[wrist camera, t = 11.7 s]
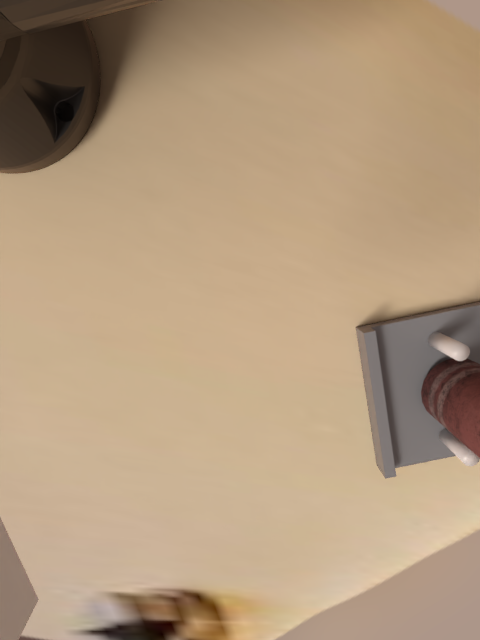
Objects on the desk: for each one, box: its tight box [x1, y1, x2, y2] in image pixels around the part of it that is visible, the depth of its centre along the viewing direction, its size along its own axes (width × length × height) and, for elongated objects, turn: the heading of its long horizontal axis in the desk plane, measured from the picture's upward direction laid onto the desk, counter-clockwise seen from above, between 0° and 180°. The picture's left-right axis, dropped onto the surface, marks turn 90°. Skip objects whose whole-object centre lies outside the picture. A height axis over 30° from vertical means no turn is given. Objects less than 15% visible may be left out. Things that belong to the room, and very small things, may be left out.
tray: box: [356, 302, 480, 478], centre depth 35 cm, size 14×18×5 cm
